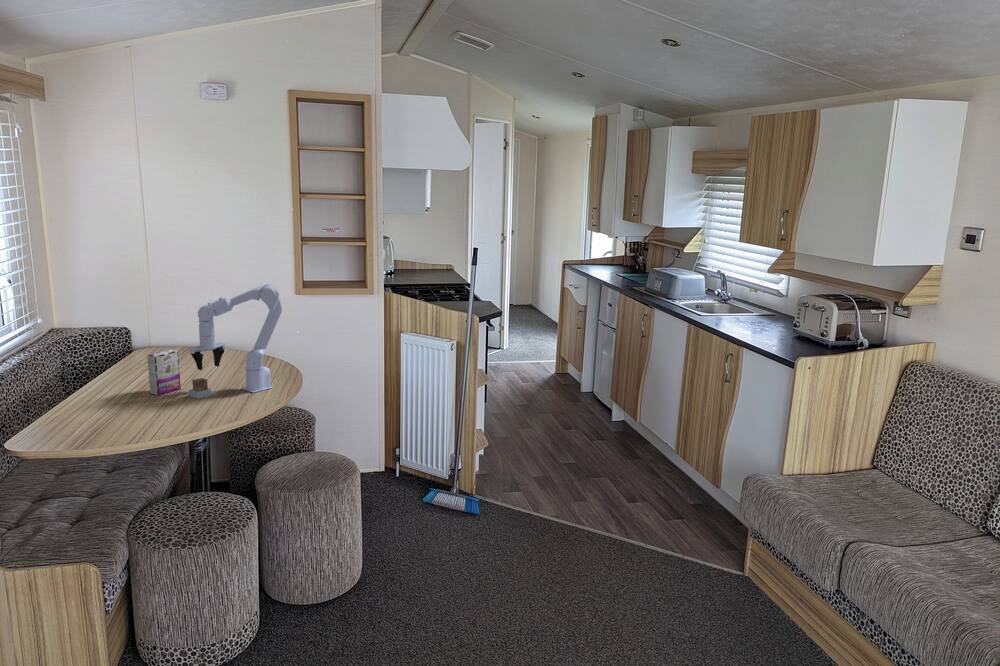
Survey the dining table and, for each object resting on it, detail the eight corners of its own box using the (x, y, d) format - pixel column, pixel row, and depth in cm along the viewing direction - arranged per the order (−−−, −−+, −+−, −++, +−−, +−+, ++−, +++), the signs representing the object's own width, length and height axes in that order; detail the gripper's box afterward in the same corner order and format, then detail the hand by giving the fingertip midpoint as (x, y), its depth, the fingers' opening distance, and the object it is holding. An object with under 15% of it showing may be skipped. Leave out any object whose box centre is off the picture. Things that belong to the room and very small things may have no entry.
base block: (201, 393, 288) (201, 386, 287) (211, 396, 285) (211, 389, 284) (188, 397, 283) (188, 390, 282) (198, 400, 280) (198, 392, 279)
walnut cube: (202, 387, 286) (201, 378, 285) (207, 389, 284) (207, 379, 283) (192, 389, 283) (192, 379, 282) (198, 391, 280) (198, 381, 280)
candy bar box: (172, 387, 293) (170, 348, 290) (181, 389, 291) (179, 350, 288) (149, 394, 283) (146, 354, 280) (158, 396, 281) (155, 356, 278)
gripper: (217, 331, 293) (218, 362, 296) (184, 336, 282) (186, 369, 284) (227, 333, 289) (228, 365, 292) (194, 339, 278) (196, 372, 280)
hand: (208, 367), depth 288 cm, fingers open, 7 cm apart
